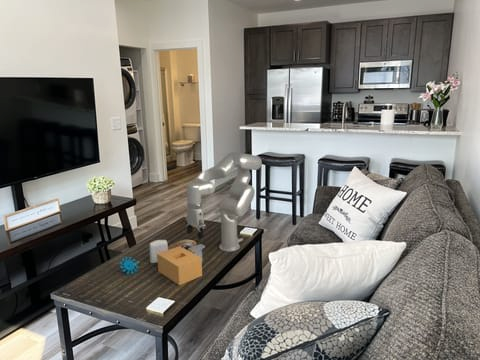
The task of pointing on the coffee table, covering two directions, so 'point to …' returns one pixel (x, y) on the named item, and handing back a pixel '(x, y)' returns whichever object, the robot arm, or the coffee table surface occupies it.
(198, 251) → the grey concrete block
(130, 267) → the gear
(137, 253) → the coffee table surface
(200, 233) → the robot arm
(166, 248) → the photo printer
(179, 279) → the tissue box
